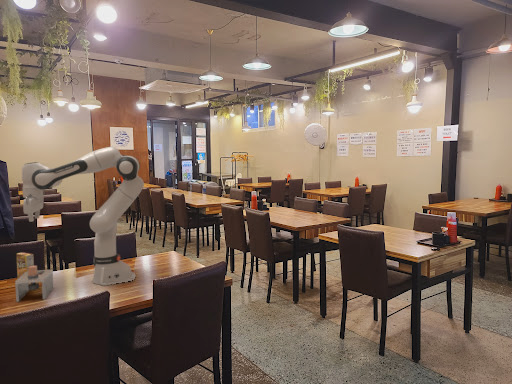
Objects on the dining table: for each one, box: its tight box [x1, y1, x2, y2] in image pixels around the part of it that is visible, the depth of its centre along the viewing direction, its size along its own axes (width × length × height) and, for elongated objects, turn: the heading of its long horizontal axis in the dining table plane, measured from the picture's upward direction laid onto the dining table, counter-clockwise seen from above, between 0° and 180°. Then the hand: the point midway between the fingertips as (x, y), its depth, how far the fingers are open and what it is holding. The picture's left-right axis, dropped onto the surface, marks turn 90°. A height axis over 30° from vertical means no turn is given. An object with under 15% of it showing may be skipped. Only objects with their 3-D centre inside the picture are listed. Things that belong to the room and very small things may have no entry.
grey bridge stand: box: [14, 269, 54, 303], centre depth 174 cm, size 12×15×10 cm
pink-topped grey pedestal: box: [28, 265, 40, 291], centre depth 172 cm, size 4×4×11 cm
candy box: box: [16, 251, 35, 279], centre depth 193 cm, size 9×4×15 cm, turn 66°
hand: (34, 219), depth 185 cm, fingers open, 8 cm apart
